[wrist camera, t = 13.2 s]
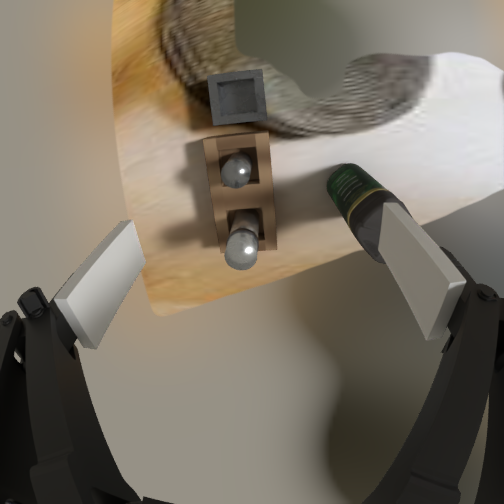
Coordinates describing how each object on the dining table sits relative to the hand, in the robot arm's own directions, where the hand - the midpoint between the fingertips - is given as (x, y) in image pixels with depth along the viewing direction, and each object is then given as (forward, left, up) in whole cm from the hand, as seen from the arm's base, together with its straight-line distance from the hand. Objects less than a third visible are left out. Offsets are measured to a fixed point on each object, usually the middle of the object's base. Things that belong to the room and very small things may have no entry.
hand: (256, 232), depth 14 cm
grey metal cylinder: (+13, -4, -33) cm, 36 cm away
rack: (+8, -4, -34) cm, 35 cm away
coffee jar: (+9, +15, -34) cm, 38 cm away
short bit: (+3, -4, -33) cm, 33 cm away
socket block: (-8, -3, -34) cm, 35 cm away
